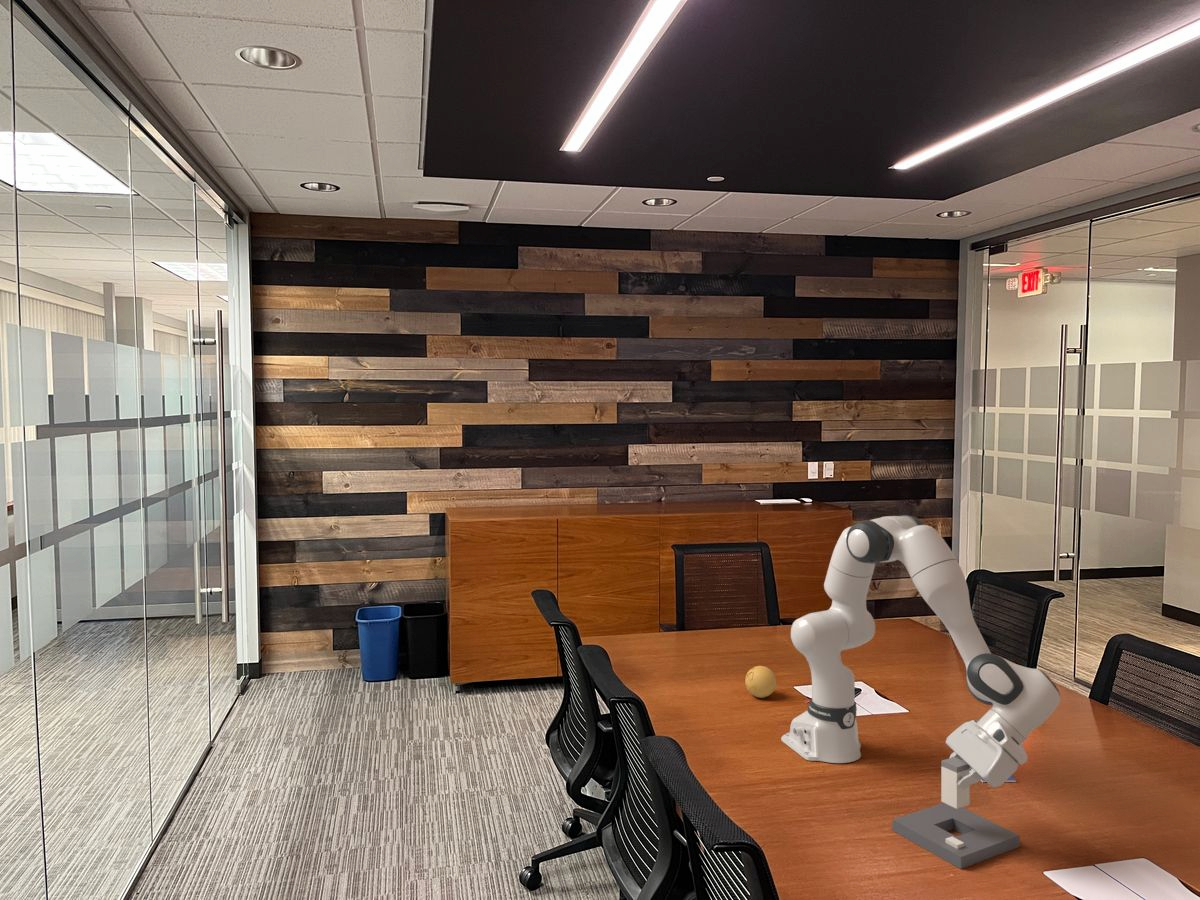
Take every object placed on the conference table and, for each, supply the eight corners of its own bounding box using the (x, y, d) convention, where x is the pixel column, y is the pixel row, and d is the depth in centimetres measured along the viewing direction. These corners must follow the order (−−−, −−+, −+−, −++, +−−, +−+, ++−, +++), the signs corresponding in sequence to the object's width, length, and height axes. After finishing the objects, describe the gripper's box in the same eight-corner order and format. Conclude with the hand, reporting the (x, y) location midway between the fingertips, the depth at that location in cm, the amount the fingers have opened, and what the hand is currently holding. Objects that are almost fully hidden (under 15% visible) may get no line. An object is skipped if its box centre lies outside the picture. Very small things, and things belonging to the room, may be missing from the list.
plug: (941, 801, 185) (941, 760, 185) (954, 797, 187) (954, 756, 186) (956, 808, 181) (956, 767, 181) (969, 804, 183) (969, 763, 183)
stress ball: (779, 699, 275) (769, 672, 282) (781, 683, 268) (771, 656, 275) (749, 706, 274) (740, 679, 282) (751, 690, 268) (741, 663, 275)
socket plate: (892, 830, 188) (892, 815, 188) (949, 811, 197) (949, 797, 197) (960, 869, 172) (960, 853, 172) (1019, 846, 181) (1019, 831, 181)
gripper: (966, 707, 194) (923, 750, 194) (1010, 742, 173) (962, 790, 174) (986, 726, 194) (943, 769, 194) (1032, 763, 174) (984, 811, 174)
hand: (952, 779), depth 184 cm, fingers closed on plug, 5 cm apart
